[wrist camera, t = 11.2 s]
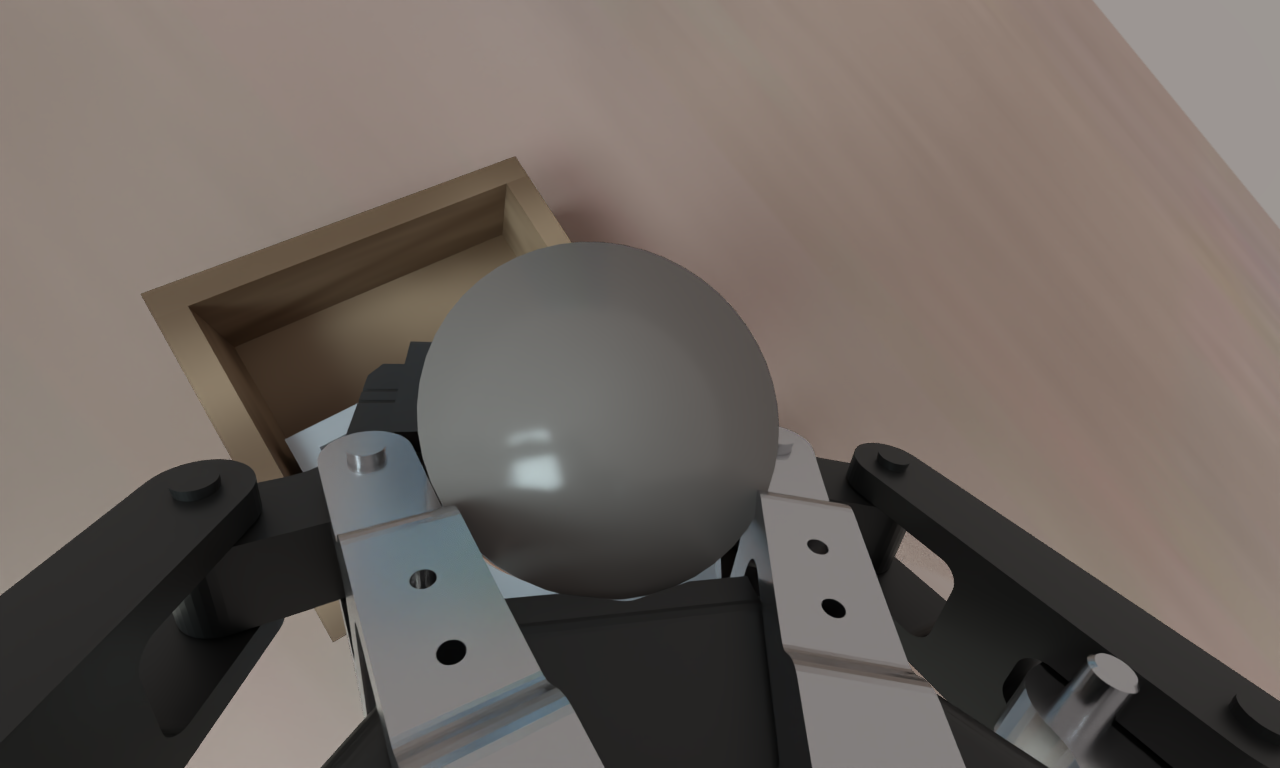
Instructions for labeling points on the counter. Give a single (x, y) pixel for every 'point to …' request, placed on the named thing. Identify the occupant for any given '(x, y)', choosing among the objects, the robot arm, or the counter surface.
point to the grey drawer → (336, 426)
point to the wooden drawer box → (339, 310)
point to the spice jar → (598, 420)
